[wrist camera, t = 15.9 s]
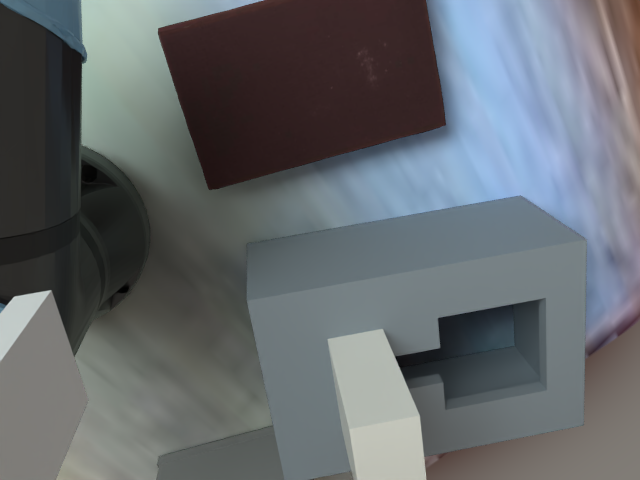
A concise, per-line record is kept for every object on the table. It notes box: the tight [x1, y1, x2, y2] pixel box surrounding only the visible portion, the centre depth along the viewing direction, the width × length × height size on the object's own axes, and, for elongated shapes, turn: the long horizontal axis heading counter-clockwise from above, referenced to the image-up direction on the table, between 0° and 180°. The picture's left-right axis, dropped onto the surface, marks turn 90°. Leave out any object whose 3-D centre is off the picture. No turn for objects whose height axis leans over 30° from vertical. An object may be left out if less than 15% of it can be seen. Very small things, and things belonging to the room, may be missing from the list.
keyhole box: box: [247, 196, 587, 480], centre depth 50 cm, size 24×16×11 cm, turn 98°
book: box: [158, 0, 446, 190], centre depth 46 cm, size 12×19×3 cm, turn 104°
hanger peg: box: [327, 329, 426, 480], centre depth 43 cm, size 6×8×16 cm
